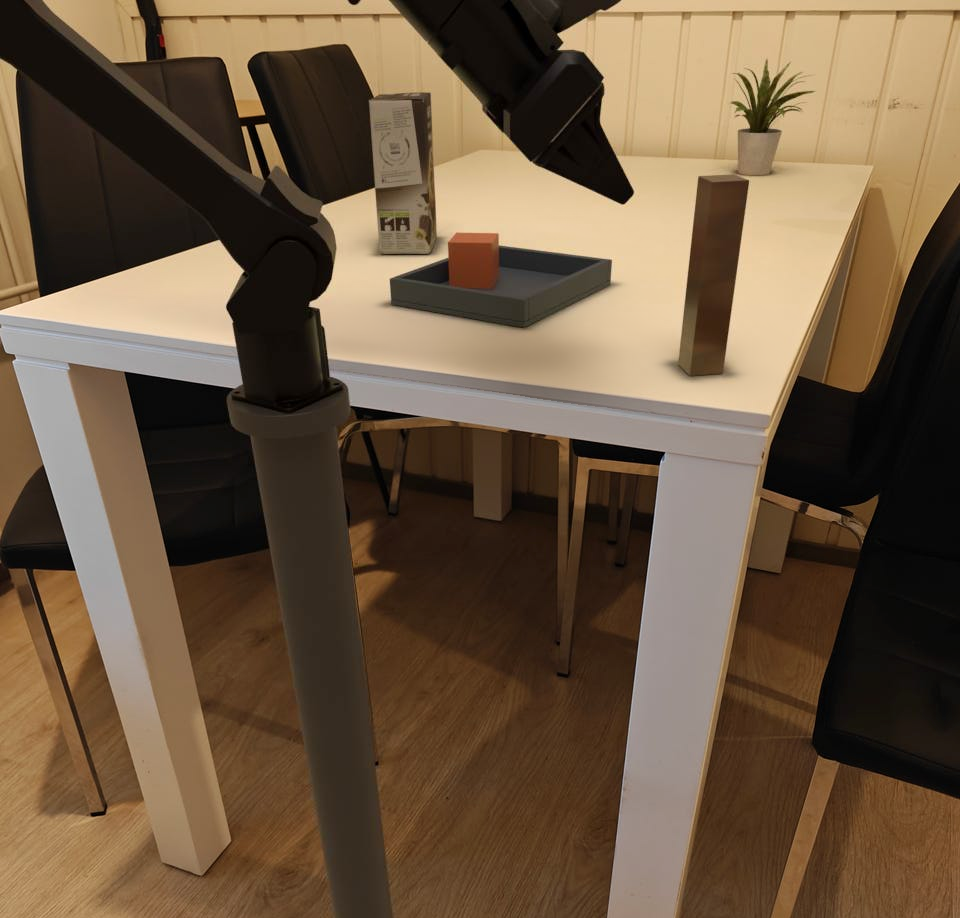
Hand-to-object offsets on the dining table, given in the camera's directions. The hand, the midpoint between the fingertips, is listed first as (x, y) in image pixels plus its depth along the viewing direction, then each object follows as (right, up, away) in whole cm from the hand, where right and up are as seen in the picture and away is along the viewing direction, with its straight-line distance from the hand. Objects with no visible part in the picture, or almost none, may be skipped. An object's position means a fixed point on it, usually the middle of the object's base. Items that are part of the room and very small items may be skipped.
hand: (614, 187), depth 65 cm
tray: (-7, +3, +28) cm, 29 cm away
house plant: (+36, +45, +86) cm, 104 cm away
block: (-10, +5, +30) cm, 32 cm away
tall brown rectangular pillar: (+8, -11, +8) cm, 16 cm away
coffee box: (-18, +16, +47) cm, 53 cm away
